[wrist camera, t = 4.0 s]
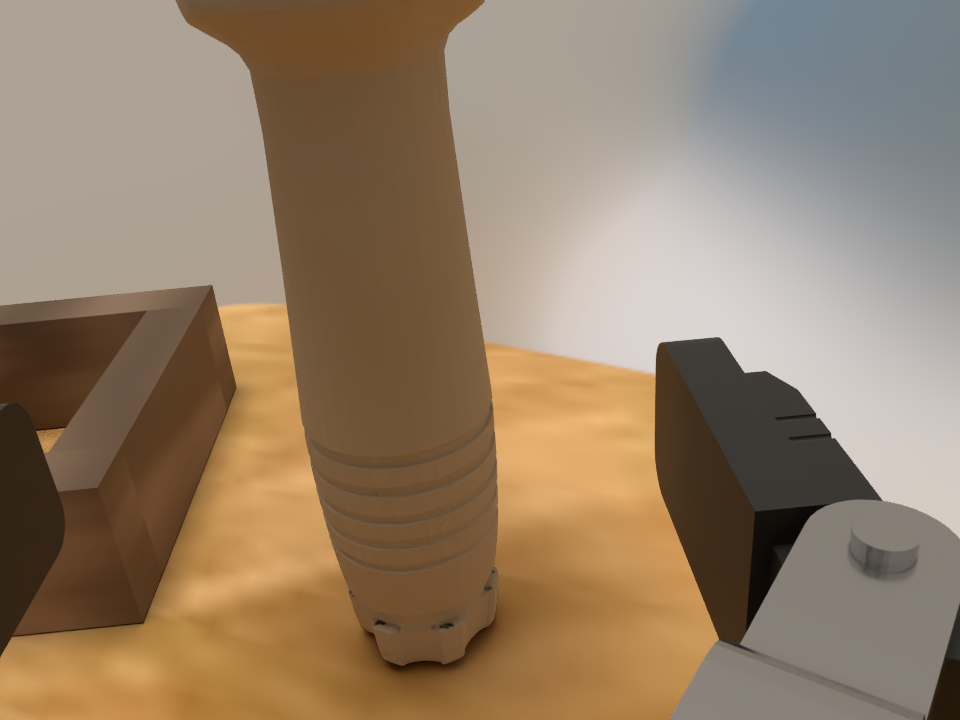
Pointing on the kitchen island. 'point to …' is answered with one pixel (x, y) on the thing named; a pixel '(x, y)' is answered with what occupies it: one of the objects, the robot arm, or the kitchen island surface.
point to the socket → (117, 436)
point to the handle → (379, 303)
